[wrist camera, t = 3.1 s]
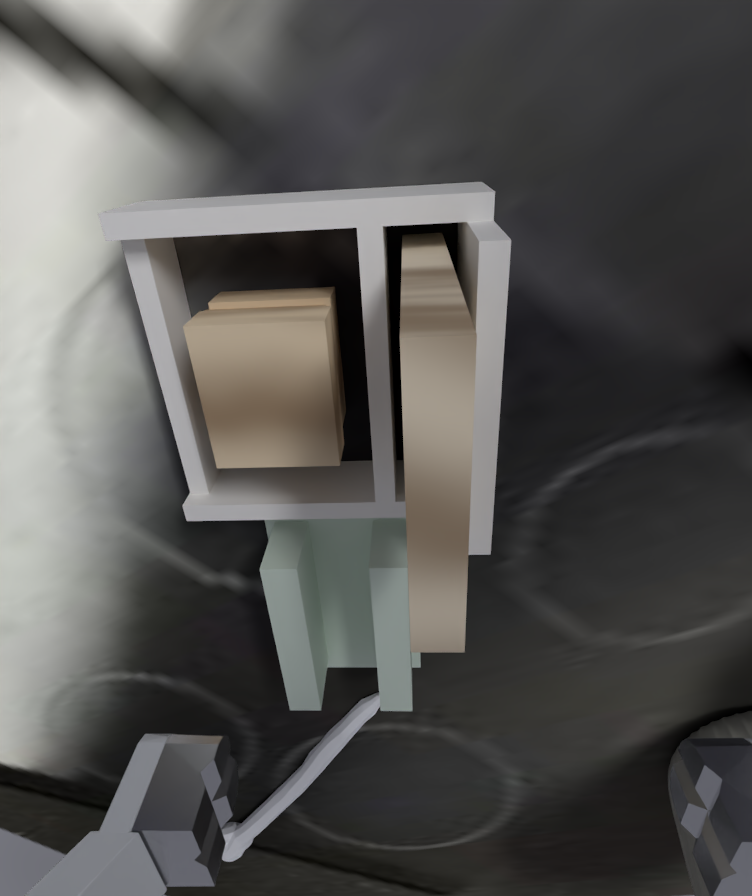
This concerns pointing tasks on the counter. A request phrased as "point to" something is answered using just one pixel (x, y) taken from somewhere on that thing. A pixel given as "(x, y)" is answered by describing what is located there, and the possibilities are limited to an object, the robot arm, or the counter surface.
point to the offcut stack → (270, 377)
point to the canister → (726, 727)
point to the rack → (370, 211)
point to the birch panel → (436, 440)
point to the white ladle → (298, 779)
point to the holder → (340, 604)
